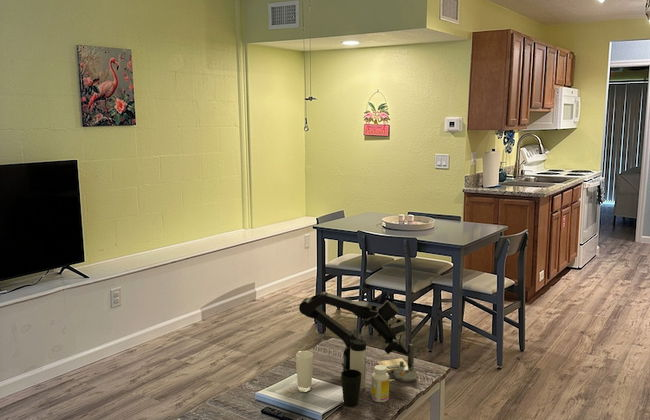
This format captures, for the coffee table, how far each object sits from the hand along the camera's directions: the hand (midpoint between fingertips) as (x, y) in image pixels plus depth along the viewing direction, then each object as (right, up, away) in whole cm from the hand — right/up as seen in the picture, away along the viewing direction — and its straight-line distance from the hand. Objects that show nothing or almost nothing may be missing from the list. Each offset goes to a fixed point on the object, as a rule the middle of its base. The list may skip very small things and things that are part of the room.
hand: (407, 354), depth 250 cm
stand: (-5, -7, +6) cm, 10 cm away
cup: (-25, -13, -26) cm, 38 cm away
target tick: (-7, -9, -7) cm, 14 cm away
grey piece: (-1, -8, -3) cm, 9 cm away
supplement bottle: (-13, -12, -22) cm, 29 cm away
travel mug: (-22, -10, -13) cm, 28 cm away
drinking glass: (-43, -11, -15) cm, 47 cm away
